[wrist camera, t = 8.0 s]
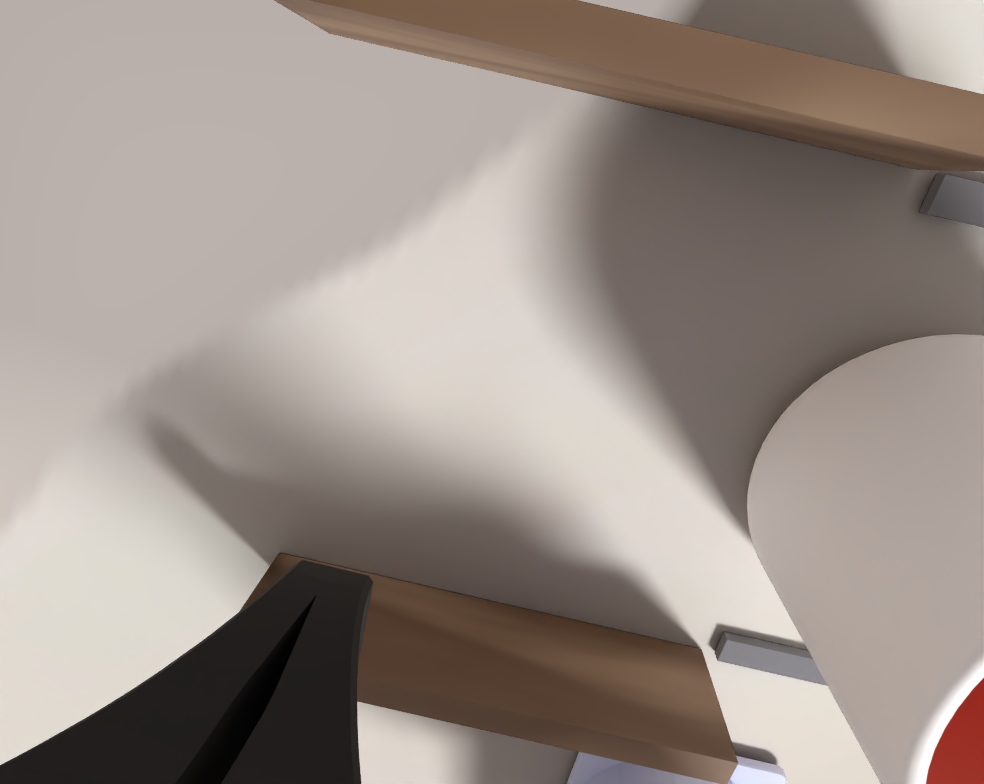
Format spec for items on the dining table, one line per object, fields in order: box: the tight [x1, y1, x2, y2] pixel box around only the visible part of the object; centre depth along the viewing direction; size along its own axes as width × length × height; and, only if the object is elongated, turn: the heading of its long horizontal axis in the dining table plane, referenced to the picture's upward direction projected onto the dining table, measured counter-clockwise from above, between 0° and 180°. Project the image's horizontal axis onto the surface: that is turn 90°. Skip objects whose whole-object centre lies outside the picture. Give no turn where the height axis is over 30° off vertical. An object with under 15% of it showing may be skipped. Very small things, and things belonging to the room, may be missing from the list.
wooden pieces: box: [240, 0, 984, 784], centre depth 16 cm, size 19×16×6 cm
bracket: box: [715, 174, 984, 685], centre depth 19 cm, size 17×10×1 cm, turn 168°
